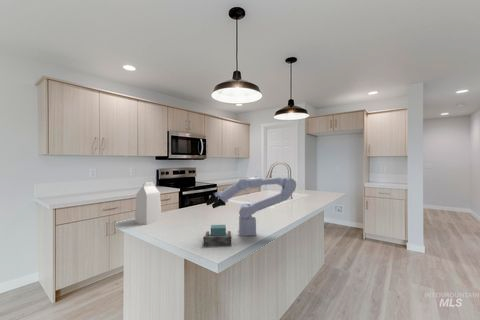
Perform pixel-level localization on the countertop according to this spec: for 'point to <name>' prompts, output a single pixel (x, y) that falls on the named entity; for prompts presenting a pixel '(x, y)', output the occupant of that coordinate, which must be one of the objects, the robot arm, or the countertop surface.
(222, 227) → the block
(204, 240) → the guide lane
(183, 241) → the countertop surface
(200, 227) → the countertop surface
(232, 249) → the countertop surface
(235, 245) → the countertop surface
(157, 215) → the milk
